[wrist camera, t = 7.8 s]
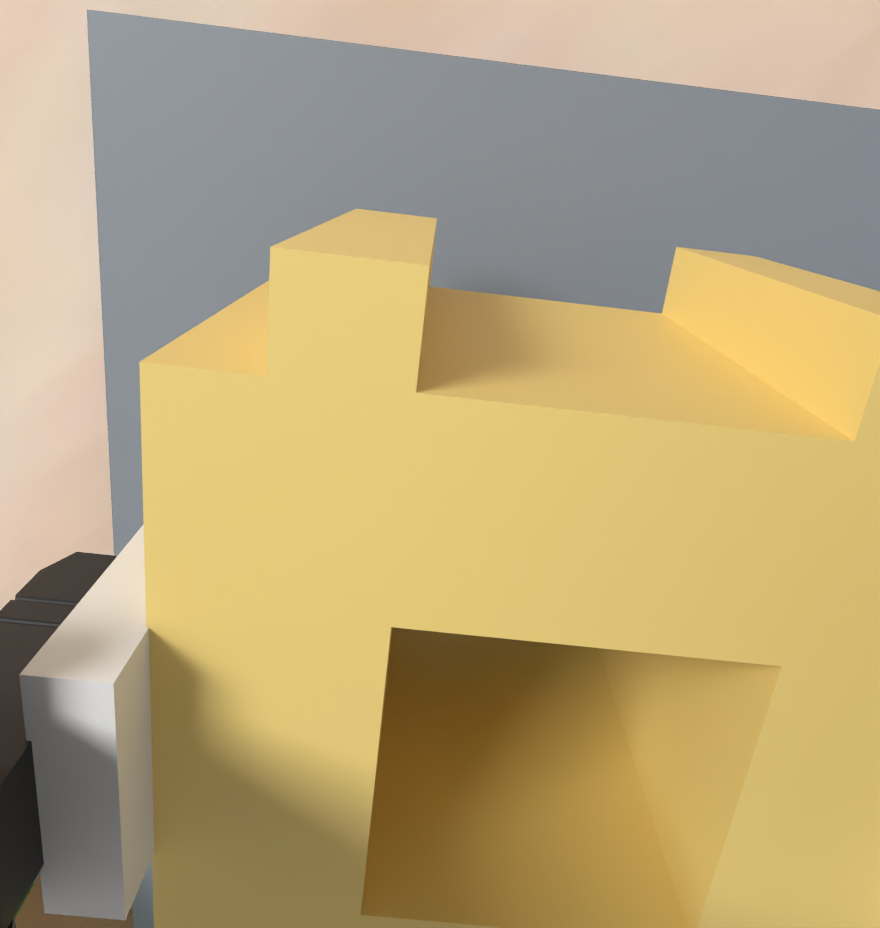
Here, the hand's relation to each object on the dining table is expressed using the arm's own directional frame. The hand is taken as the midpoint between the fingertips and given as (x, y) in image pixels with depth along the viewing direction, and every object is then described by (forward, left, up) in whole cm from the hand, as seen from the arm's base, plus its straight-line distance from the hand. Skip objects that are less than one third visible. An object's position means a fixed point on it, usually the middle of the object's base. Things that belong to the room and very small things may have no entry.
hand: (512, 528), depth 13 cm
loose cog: (0, 0, 0) cm, 0 cm away
